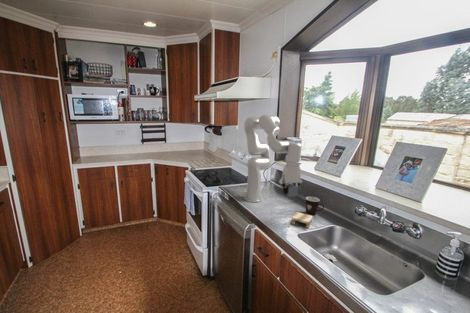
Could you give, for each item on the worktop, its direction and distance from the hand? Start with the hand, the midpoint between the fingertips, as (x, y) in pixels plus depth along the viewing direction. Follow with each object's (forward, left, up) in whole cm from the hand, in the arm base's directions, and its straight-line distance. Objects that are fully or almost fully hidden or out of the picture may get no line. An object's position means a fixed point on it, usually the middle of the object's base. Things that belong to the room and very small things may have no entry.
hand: (289, 193), depth 142 cm
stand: (+9, +2, -17) cm, 20 cm away
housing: (0, 0, -1) cm, 1 cm away
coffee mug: (+12, +19, -18) cm, 29 cm away
